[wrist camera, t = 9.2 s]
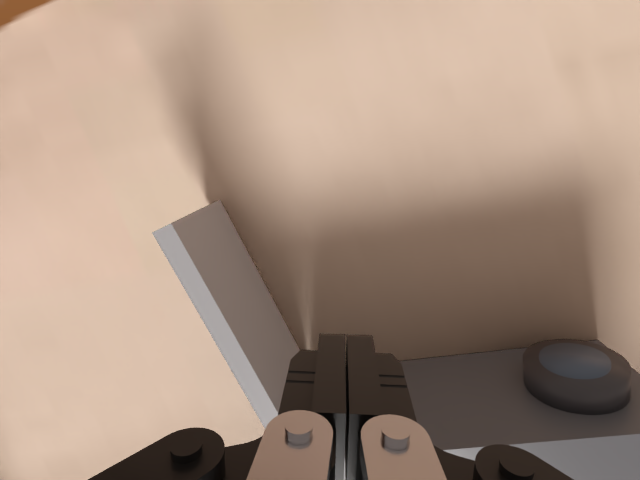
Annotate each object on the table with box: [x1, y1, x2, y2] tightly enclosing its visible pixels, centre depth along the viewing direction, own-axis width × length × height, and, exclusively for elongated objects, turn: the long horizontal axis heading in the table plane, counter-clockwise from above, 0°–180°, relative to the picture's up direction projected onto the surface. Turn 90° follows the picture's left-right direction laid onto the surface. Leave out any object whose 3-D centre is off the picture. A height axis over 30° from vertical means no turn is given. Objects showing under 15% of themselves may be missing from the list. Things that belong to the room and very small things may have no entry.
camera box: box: [344, 339, 640, 480], centre depth 23 cm, size 18×14×9 cm
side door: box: [152, 200, 300, 429], centre depth 23 cm, size 12×2×7 cm, turn 26°
